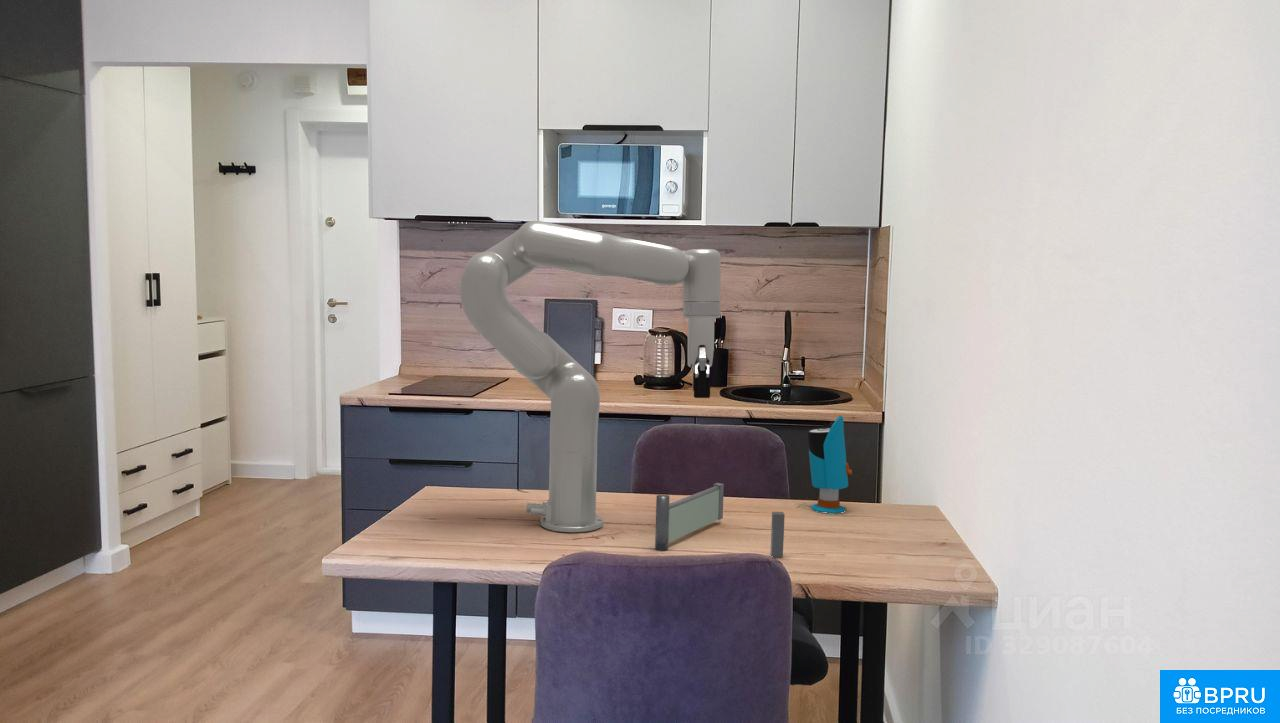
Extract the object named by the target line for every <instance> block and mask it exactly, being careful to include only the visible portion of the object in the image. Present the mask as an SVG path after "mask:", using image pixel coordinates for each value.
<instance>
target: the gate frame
mask: <svg viewBox="0 0 1280 723" xmlns="http://www.w3.org/2000/svg"><path fill="white" fill-rule="evenodd" d="M655 498H656V501H655V502H656V503H655V505H656V506H655V509H656V510H655V532H654V533H655V536H654V537H655V540H654V550H655V551H658V552H665V551H668V550H669V543H668V530H669V504H670V498H671V497H670V495H668V494H657V495H656V497H655ZM770 532H771V533H770V557H771V556H773V557H775V558H774V559H784V541H785V540H784V537H785V536H784V534H785V513H784V512H783V511H771V530H770Z"/></svg>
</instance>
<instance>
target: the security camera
mask: <svg viewBox="0 0 1280 723" xmlns="http://www.w3.org/2000/svg"><path fill="white" fill-rule="evenodd" d="M844 425H845V424H844V415H840V416H838V417H837V418H836V420H835V421H834V423H833V424H832V425H831V426H830V427H829V426H828V427H825V426H823V427H817V428H811V429H809V430H808V431H807V440H808V456H809V457H808V458H809V466H810V476H811V485H812V487H814V488H816V489H819V497H817V503H816V504H815V503H814V504H811V507H810V509H811V508H812V509H813V510H815V511H818V512H817V513H819V512H827V513H841V512H844V511H847V509H846V507H845V506H843V505H841V504H840V503H841V499H840V498H839V496H840V495H839V493H840V492H839V491H840V490H842V489H845V488H848V487H849V478H848V476H852V475H853V471H852V469H850V466H849V462H847V453H846V451H847V450H846V441H845V429H844V427H845V426H844ZM812 509H811V510H812ZM813 510H812V511H813ZM815 511H814V512H815Z"/></svg>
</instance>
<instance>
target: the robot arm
mask: <svg viewBox="0 0 1280 723" xmlns="http://www.w3.org/2000/svg"><path fill="white" fill-rule="evenodd" d="M721 261H722V259H721V254H720V252H719V251H718V250H717V249H713V248H693V249H687V250H681V249H679V248H677V247H674V246H671V245H666V244H659V243H654V242H649V241H643V240H639V239H633V238H627V237H623V236H617V235H613V234H610V233H607V232H606V233H605V232H600V231H595V230H589V229H583V228H579V227H574V226H573V227H572V226H567V225H562V224H557V223H554V222H553V223H551V222H547V221H543V220H542V221H541V220H530V221H527V222H525V223H524V224H522V225H521V226H520V227H519V228H518V229H517V230H516V231H515V232H513V233H511V234H510V235H509V236H508V237H506V238H504V239H502V240H501V241H499V242H498V243H497V244H495V245H493V246H491V247H490V248H488V249H486V250H485V251H483V252H478V253H476V254H475V255H473V256H471V257H470V259H468V261H467V262H466V264H465V266H464V268H463V271H462V274H461V275H462V276H461V280H460V286H459V296H460V298H459V299H460V303H461V307H462V310H463V313H464V314H465V316H466V319H467V320H468V321H469V323H470V324H471V326H472V327H473V328H474V329H475V330H476V332H478V333H479V334H480V335H481V336H482V337H483V338H484V339H485V340H486V341H487V342H488V343H489V344H490V345H491V346H492V347H493V349H495V350H496V351H497V352H498V353H500V355H501V356H502V357H504V359H506V360H507V361H508V363H509V364H511V366H512V367H513V368H514V369H515V371H516V372H518V374H520V375H521V376H523V377H525V378H527V379H528V380H529V381H530V382H531V383H532V384H533V385H534V386H535V387H536V388H537V389H539V390H540V391H541V392H542V393H543V394H544V396H546V397H548V399H550V420H549V421H550V422H549V464H548V465H549V468H548V469H549V472H548V473H549V476H548V499H547V502H542V503H534V502H532V503H531V502H527V504H526V514H530V515H531V516H532V515H533V516H534V515H535V516H536V515H539V516H540V515H542V516H541V518H540V526H541V527H543V528H544V529H546V530H549V531H553V532H558V533H559V532H560V533H584V532H591V531H596V530H599V529H600V528H602V527H603V526H604V519H603V518H602V517H601V516H599V515H597V512H596V510H597V476H598V475H597V471H598V470H597V469H598V429H599V416H600V415H599V414H600V406H601V404H600V403H601V395H600V387H599V385H598V382H597V380H596V378H595V377H594V376H593V375H592V374H591V373H590V372H588V370H586V369H585V368H584V367H583V366H582V365H581V364H580V363H578V361H577V360H576V359H574V357H572V355H570V353H568V352H567V351H566V350H565V349H564V348H563V347H561V346H560V344H558V343H557V342H556V341H555V340H554V339H553V338H552V337H551V336H550V335H549V334H548V333H546V332H544V331H542V330H540V329H539V328H537V326H535V325H534V324H533V323H532V322H531V321H530V320H528V318H526V316H524V315H523V314H522V312H521V311H519V310H518V308H516V307H515V305H513V304H512V303H511V302H510V301H509V299H508V297H507V295H506V292H505V288H507V287H508V286H510V285H512V284H513V283H515V282H517V281H518V280H520V279H521V278H523V277H524V276H526V275H528V274H529V273H531V272H533V271H534V270H535V269H537V268H538V267H539V266H541V267H548V268H553V269H558V270H564V271H570V272H575V273H580V274H585V275H592V276H597V277H598V276H599V277H619V278H626V279H631V280H633V279H634V280H636V281H637V280H639V281H643V282H650V283H653V284H654V285H658V286H668V287H670V286H676V285H679V284H682V289H683V290H682V291H683V292H682V301H683V303H682V306H683V307H682V308H683V309H682V311H683V313H682V315H683V316H682V317H683V319H687V366H688V367H689V368H692V365H694V367H693V368H694V371H693V375H692V376H693V377H692V378H693V379H692V381H693V382H692V383H693V384H692V386H693V388H692V391H693V397H694V398H695V399H709V398H711V377H710V368H711V367H712V366H713V361H714V360H713V359H714V351H715V350H714V348H715V319H720V318H721V297H722V296H721V288H722V287H721V284H722V281H721V276H722V275H721V273H722V272H721V270H722V269H721V266H722V264H721V263H722V262H721Z"/></svg>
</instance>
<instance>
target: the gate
mask: <svg viewBox="0 0 1280 723" xmlns="http://www.w3.org/2000/svg"><path fill="white" fill-rule="evenodd" d="M724 487H725V484H724V483H720V482H715V483H713V486H711V487H709V488H706V489H705V490H702V491H699V492H696V493H693V494H690V495H688V496H686V497H683V498H681V499H678V500H676V501H672V502H671V503H670V502H669V530H668V544H669V543H670V542H673V541H675V540H677V539H679V538H682V537H684V536H686V535H688V534H690V533H693V532H694V531H696V530H699V529H701V528H703V527H706V526H707V525H710V524H712V523H715V522H716V521H720V520H722V519H723V518H724V493H725V492H724V491H725V490H724V489H725V488H724Z"/></svg>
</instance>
